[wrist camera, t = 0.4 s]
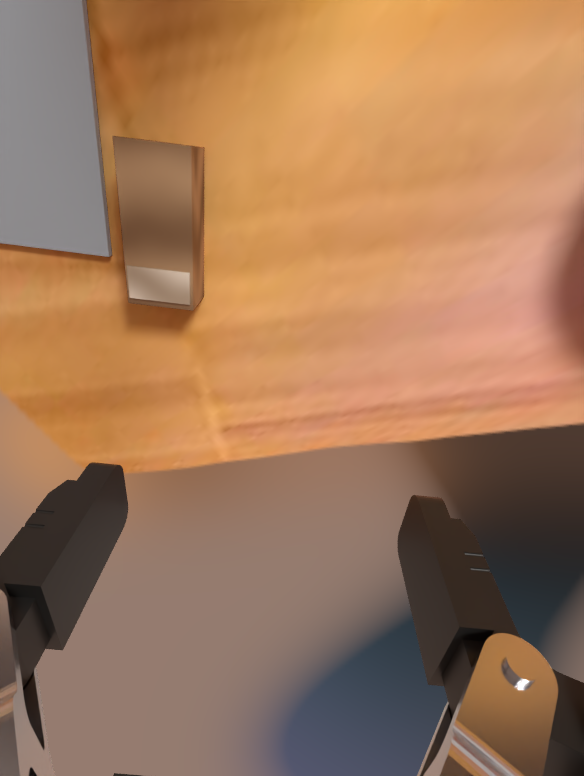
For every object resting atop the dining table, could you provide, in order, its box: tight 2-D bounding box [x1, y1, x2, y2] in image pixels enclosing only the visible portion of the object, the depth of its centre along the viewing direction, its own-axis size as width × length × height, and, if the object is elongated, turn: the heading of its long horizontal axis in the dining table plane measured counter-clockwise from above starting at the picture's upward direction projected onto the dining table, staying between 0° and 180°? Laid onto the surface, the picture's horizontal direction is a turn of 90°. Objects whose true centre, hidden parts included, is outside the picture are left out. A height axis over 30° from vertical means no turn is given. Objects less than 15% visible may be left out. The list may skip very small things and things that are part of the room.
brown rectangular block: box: [113, 136, 204, 311], centre depth 30 cm, size 11×5×4 cm, turn 174°
